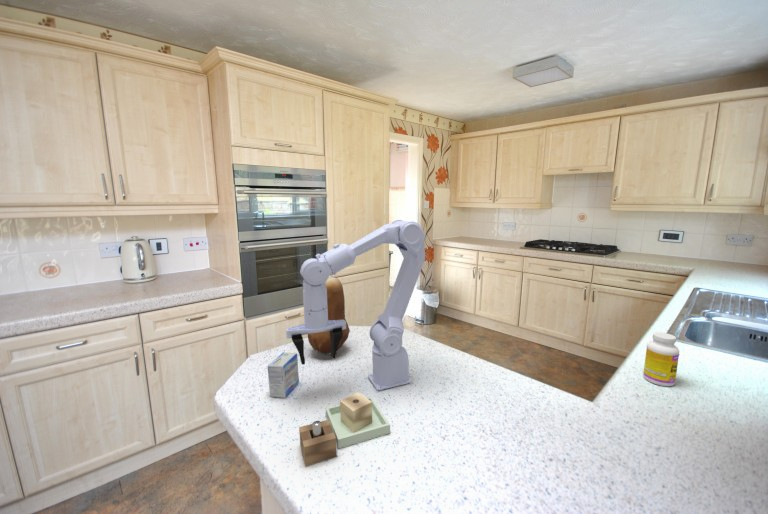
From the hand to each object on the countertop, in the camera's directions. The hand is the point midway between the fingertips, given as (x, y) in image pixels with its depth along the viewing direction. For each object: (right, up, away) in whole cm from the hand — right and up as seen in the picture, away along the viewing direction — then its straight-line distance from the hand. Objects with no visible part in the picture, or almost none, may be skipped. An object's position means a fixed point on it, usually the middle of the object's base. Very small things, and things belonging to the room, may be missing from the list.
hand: (318, 359), depth 83 cm
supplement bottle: (+90, -8, +6) cm, 91 cm away
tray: (+11, -11, -10) cm, 18 cm away
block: (+10, -11, -10) cm, 18 cm away
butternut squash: (-1, -6, +26) cm, 26 cm away
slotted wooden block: (+3, -12, -18) cm, 22 cm away
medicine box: (-10, -9, +4) cm, 14 cm away
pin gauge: (+3, -12, -18) cm, 22 cm away
